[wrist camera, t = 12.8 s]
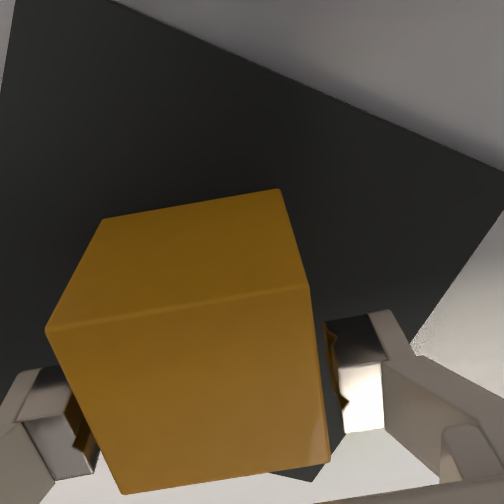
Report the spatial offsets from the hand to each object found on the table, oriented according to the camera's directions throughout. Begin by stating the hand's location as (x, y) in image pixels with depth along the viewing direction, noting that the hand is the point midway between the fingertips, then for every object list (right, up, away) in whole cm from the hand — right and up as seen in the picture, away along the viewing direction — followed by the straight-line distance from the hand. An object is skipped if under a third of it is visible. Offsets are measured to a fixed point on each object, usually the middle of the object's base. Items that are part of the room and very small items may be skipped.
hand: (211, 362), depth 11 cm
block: (0, +2, +2) cm, 3 cm away
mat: (0, +1, +2) cm, 3 cm away
